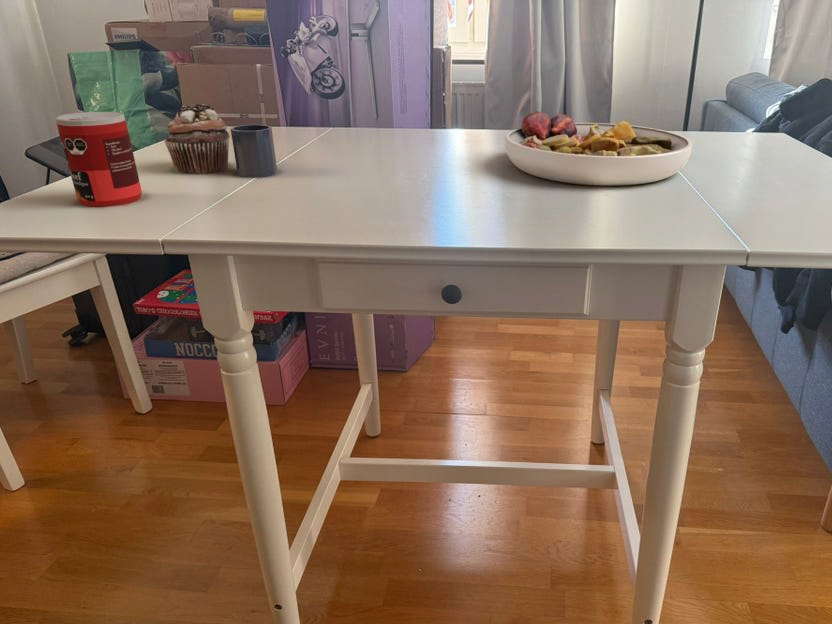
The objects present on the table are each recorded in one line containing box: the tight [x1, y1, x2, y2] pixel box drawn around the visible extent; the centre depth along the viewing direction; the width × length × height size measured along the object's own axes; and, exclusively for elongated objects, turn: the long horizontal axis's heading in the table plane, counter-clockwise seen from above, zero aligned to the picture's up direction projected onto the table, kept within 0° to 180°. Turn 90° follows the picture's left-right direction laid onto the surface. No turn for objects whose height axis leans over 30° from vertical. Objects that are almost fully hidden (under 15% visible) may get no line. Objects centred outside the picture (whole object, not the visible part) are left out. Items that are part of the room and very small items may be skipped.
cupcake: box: [163, 102, 231, 175], centre depth 107 cm, size 10×10×10 cm
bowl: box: [504, 110, 693, 187], centre depth 110 cm, size 30×30×8 cm
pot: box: [230, 124, 278, 179], centre depth 105 cm, size 6×6×7 cm
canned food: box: [55, 111, 143, 208], centre depth 89 cm, size 8×8×11 cm
